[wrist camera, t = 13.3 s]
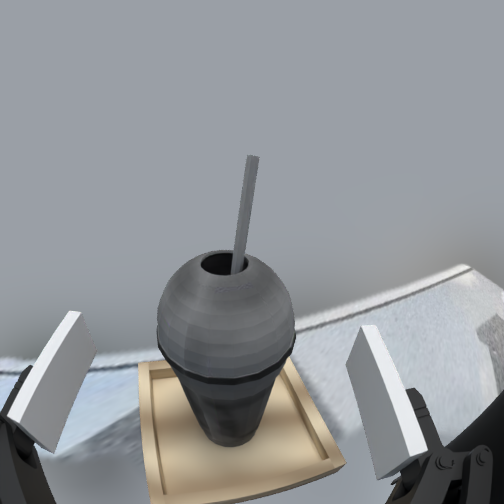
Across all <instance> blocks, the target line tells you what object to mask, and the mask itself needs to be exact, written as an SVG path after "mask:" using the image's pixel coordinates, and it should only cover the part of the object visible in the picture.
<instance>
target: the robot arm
mask: <svg viewBox="0 0 504 504" xmlns="http://www.w3.org/2000/svg"><path fill="white" fill-rule="evenodd" d="M96 353H97V349H96V347H95V345H94V342H93V340H92V338H91V335H90V333H89V331H88V328H87V326H86V323H85V322H84V319H83V316H82V313H81V312H76V311H69V312H68V313H67V315H66V316H65V318H64V319H63V321H62V322H61V324H60V325H59V326H58V328H57V329H56V331H55V332H54V334H53V335H52V337H51V339H50V340H49V342H48V343H47V345H46V346H45V348H44V350H43V351H42V353H41V354H40V356H39V358H38V359H37V361H36V363H35V364H34V366H32V365H29V366H28V367H27V368H26V369H25V370H24V371H23V372H22V373H21V375H20V377H19V379H18V382H16V384H15V386H14V388H13V389H12V391H11V393H10V395H9V397H8V399H7V401H6V403H5V405H4V407H3V409H2V410H1V412H0V504H56V502H55V500H54V497H53V495H52V493H51V490H50V488H49V485H48V483H47V480H46V477H45V475H44V472H43V469H42V466H41V463H40V460H39V457H38V454H37V450H36V448H35V446H34V443H37V444H38V445H39V446H40V447H41V448H43V449H45V450H47V451H49V452H51V453H53V454H54V453H55V450H56V447H57V444H58V441H59V439H60V436H61V433H62V431H63V428H64V426H65V423H66V420H67V418H68V415H69V413H70V411H71V408H72V406H73V403H74V401H75V399H76V396H77V394H78V392H79V390H80V387H81V385H82V383H83V381H84V378H85V376H86V374H87V372H88V370H89V368H90V366H91V364H92V361H93V359H94V357H95V355H96ZM346 367H347V370H348V374H349V377H350V380H351V384H352V387H353V390H354V394H355V397H356V401H357V404H358V408H359V411H360V415H361V418H362V422H363V426H364V430H365V433H366V437H367V441H368V445H369V448H370V453H371V457H372V461H373V465H374V469H375V474H376V478H377V480H380V479H383V478H387V477H390V476H393V475H395V474H396V473H398V472H399V471H400V473H401V476H400V477H398V478H397V479H395V480H394V481H393V482H392V483H391V485H393V484H395V483H396V485H395V487H394V489H393V491H392V493H391V495H390V496H389V498H388V500H387V502H386V503H385V504H489V502H490V494H491V484H492V466H493V456H492V452H491V450H490V448H488V447H487V446H485V445H479V446H477V447H476V448H475V449H473V450H472V451H468V452H452V451H451V450H449V449H447V448H445V447H444V446H443V445H442V443H441V441H440V438H439V436H438V433H437V430H436V428H435V425H434V423H433V420H432V418H431V416H430V413H429V411H428V408H426V404H425V401H424V399H423V397H422V395H421V394H420V393H419V392H418V391H417V390H416V389H415V388H411V389H406V390H405V388H404V386H403V384H402V381H401V379H400V377H399V374H398V372H397V370H396V368H395V365H394V363H393V361H392V359H391V357H390V354H389V352H388V350H387V348H386V346H385V344H384V341H383V339H382V337H381V335H380V333H379V331H378V329H377V327H376V325H366V326H361V327H360V330H359V332H358V335H357V338H356V340H355V343H354V345H353V348H352V350H351V353H350V355H349V358H348V360H347V362H346Z"/></svg>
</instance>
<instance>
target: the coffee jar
mask: <svg viewBox="0 0 504 504" xmlns="http://www.w3.org/2000/svg"><path fill="white" fill-rule="evenodd" d="M479 445H485V446H487V447H488V448H490V450H491V452H492V456H493V466H492V484H491V494H490V502H489V504H504V390H503V391H502V392H501V393H500V395H499V396H498V397H497V398H496V399H495V400H494V401H493V402H492V403H491V405H490V406H489V407H488V408H487V409H486V410H485V411H484V412H483V413H482V414H481V415H480V416H479V417H478V418H477V419H476V420H475V421H474V422H473V423H472V424H471V425H470V426H468V427H467V428H466V429H465V430H464V431H463V432H462V433H461V434H460V435H458V436H457V437H456V438H455V439H454V440H453V441H451V442H450V443H449V444H448V445H447V446H445V448H447V449H449V450H451V451H452V452H468V451H472V450H473V449H475V448H476V447H477V446H479Z"/></svg>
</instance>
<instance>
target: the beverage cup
mask: <svg viewBox="0 0 504 504" xmlns="http://www.w3.org/2000/svg"><path fill="white" fill-rule="evenodd" d="M258 163H259V157H258V156H252V155H247V160H246V167H245V173H244V180H243V187H242V194H241V201H240V208H239V216H238V223H237V230H236V238H235V245H234V251H232V250H219V251H211V252H208V253H204V254H202V255H199V256H197V257H195V258H193V259H191V260H189V261H188V262H187V263H185V264H184V265H183V266H182V267H181V268H179V270H177V271H176V273H175V274H174V275H173V276H172V277H171V278H170V280H169V281H168V283H167V285H166V287H165V290H164V292H163V294H162V297H161V299H160V302H159V306H158V313H157V314H158V315H157V321H158V325H157V341H158V348H159V350H160V351H161V353H162V355H163V356H164V358H165V360H166V361H167V363H168V364H169V365H170V366H171V368H172V370H173V371H174V373H175V374H176V376H177V377H178V379H179V381H180V384H181V386H182V388H183V391H184V393H185V395H186V397H187V400H188V402H189V404H190V406H191V408H192V411H193V413H194V415H195V417H196V419H197V421H198V423H199V425H200V427H201V428H202V430H203V431H204V433H205V435H206V436H207V437H208V439H209V440H211V441H212V442H214V443H215V444H217V445H220V446H223V447H237V446H241V445H243V444H245V443H247V442H248V441H250V440H251V439H252V437H253V436H254V435H255V433H256V430H257V429H258V427H259V424H260V422H261V419H262V416H263V414H264V411H265V408H266V405H267V402H268V400H269V397H270V394H271V391H272V388H273V385H274V382H275V379H276V377H277V376H278V375H279V374H280V372H281V370H282V368H283V367H284V365H285V363H286V360H287V358H288V357H289V356H290V355H291V353H292V350H293V347H294V343H295V339H296V333H295V328H294V326H295V321H294V313H293V308H292V303H291V299H290V296H289V293H288V291H287V289H286V287H285V286H284V284H283V282H282V281H281V280H280V278H279V277H278V276H277V274H276V273H275V272H274V271H273V270H272V269H271V268H270V267H269V266H267V265H266V264H265V263H263V262H262V261H260V260H259V259H257V258H256V257H253V256H250V255H248V254H245V249H246V242H247V235H248V229H249V221H250V215H251V209H252V202H253V196H254V189H255V182H256V176H257V169H258Z"/></svg>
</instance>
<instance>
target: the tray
mask: <svg viewBox="0 0 504 504" xmlns="http://www.w3.org/2000/svg"><path fill="white" fill-rule="evenodd" d="M138 372H139V405H140V422H141V435H142V445H143V455H144V463H145V471H146V478H147V484H148V490H149V496H150V502H151V504H234V503H239V502H244V501H248V500H253V499H257V498H261V497H265V496H269V495H273V494H276V493H280V492H283V491H287V490H290V489H293V488H296V487H299V486H302V485H305V484H307V483H310V482H313V481H316V480H318V479H321V478H323V477H326V476H328V475H331V474H333V473H336V472H338V471H339V470H340V469H341V468H342V467H343V466H344V465H345V464H346V461H345V459H344V457H343V456H342V454H341V452H340V450H339V448H338V446H337V445H336V443H335V441H334V439H333V437H332V435H331V434H330V432H329V430H328V428H327V426H326V425H325V423H324V421H323V419H322V417H321V415H320V414H319V412H318V410H317V408H316V406H315V404H314V402H313V401H312V399H311V397H310V395H309V393H308V391H307V389H306V388H305V386H304V384H303V382H302V380H301V378H300V376H299V374H298V373H297V371H296V369H295V367H294V365H293V363H292V361H291V359H290V357H288V358H287V360H286V363H285V365H284V367H283V368H282V370H281V372H280V374H279V375H278V376H277V377H276V379H275V382H274V385H273V388H272V391H271V394H270V397H269V400H268V402H267V405H266V408H265V411H264V414H263V416H262V419H261V422H260V424H259V427H258V429H257V430H256V433H255V435H254V436H253V437H252V439H251V440H250V441H248V442H247V443H245V444H243V445H241V446H237V447H223V446H220V445H217V444H215V443H214V442H212V441H211V440H209V439H208V437H207V436H206V435H205V433H204V431H203V430H202V428H201V427H200V425H199V423H198V421H197V419H196V417H195V415H194V413H193V411H192V408H191V406H190V404H189V402H188V400H187V397H186V395H185V393H184V391H183V388H182V386H181V384H180V381H179V379H178V377H177V376H176V374H175V373H174V371H173V370H172V368H171V366H170V365H169V364H168V363H167V361H166V360H164V361H153V362H142V363H138Z"/></svg>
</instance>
